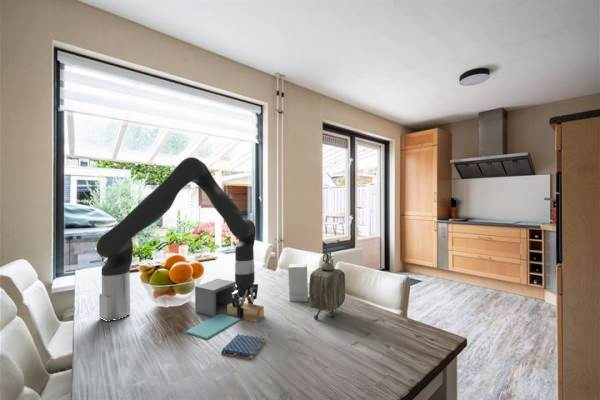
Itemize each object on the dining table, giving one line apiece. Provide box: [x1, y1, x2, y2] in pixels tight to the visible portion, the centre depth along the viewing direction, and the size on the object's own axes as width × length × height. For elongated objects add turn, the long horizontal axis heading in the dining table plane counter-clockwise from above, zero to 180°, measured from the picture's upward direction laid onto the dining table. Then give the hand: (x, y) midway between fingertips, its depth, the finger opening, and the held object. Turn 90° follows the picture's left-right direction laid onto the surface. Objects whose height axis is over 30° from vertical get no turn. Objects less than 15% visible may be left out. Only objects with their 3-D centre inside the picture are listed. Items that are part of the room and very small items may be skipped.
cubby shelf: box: [194, 278, 236, 317], centre depth 113 cm, size 12×10×10 cm
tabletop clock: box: [308, 250, 346, 320], centre depth 104 cm, size 14×9×25 cm, turn 149°
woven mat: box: [220, 333, 266, 360], centre depth 82 cm, size 10×11×2 cm
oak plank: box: [226, 301, 265, 323], centre depth 105 cm, size 5×14×4 cm, turn 63°
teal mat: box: [185, 313, 241, 340], centre depth 97 cm, size 16×10×1 cm, turn 151°
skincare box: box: [287, 263, 309, 302], centre depth 122 cm, size 8×7×16 cm
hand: (245, 314), depth 105 cm, fingers closed on oak plank, 5 cm apart
